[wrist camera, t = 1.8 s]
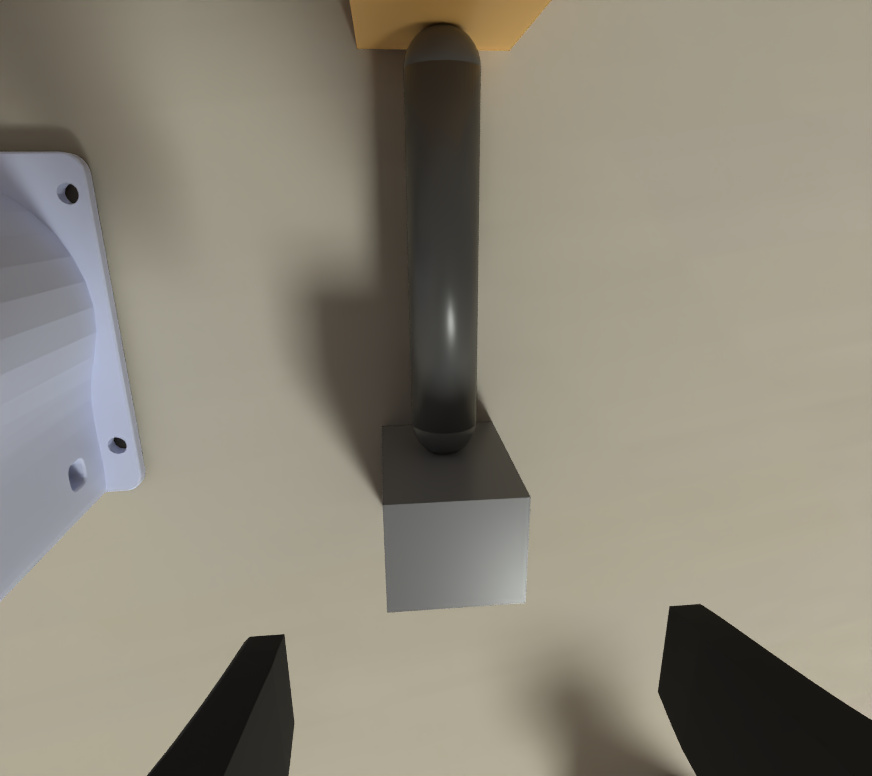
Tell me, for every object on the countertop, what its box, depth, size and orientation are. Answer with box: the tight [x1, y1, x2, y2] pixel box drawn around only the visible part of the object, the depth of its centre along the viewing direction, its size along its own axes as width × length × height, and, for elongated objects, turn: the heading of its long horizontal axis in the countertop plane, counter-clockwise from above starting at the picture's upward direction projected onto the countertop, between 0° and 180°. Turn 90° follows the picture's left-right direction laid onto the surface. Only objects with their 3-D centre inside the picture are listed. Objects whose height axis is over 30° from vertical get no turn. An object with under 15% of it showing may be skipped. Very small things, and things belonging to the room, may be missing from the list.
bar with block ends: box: [350, 0, 551, 613], centre depth 14 cm, size 18×4×5 cm, turn 1°
